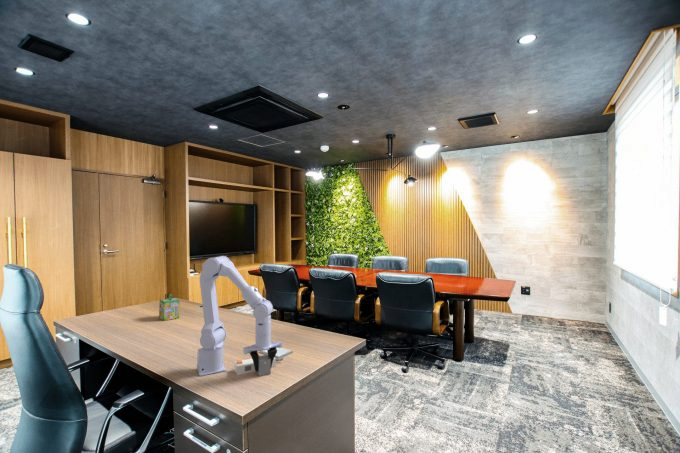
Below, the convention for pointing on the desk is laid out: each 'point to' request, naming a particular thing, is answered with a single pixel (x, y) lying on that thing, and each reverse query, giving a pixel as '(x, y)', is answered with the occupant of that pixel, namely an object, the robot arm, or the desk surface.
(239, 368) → the power strip
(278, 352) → the hard drive
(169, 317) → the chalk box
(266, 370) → the block
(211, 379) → the desk surface
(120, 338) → the desk surface
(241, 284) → the robot arm
